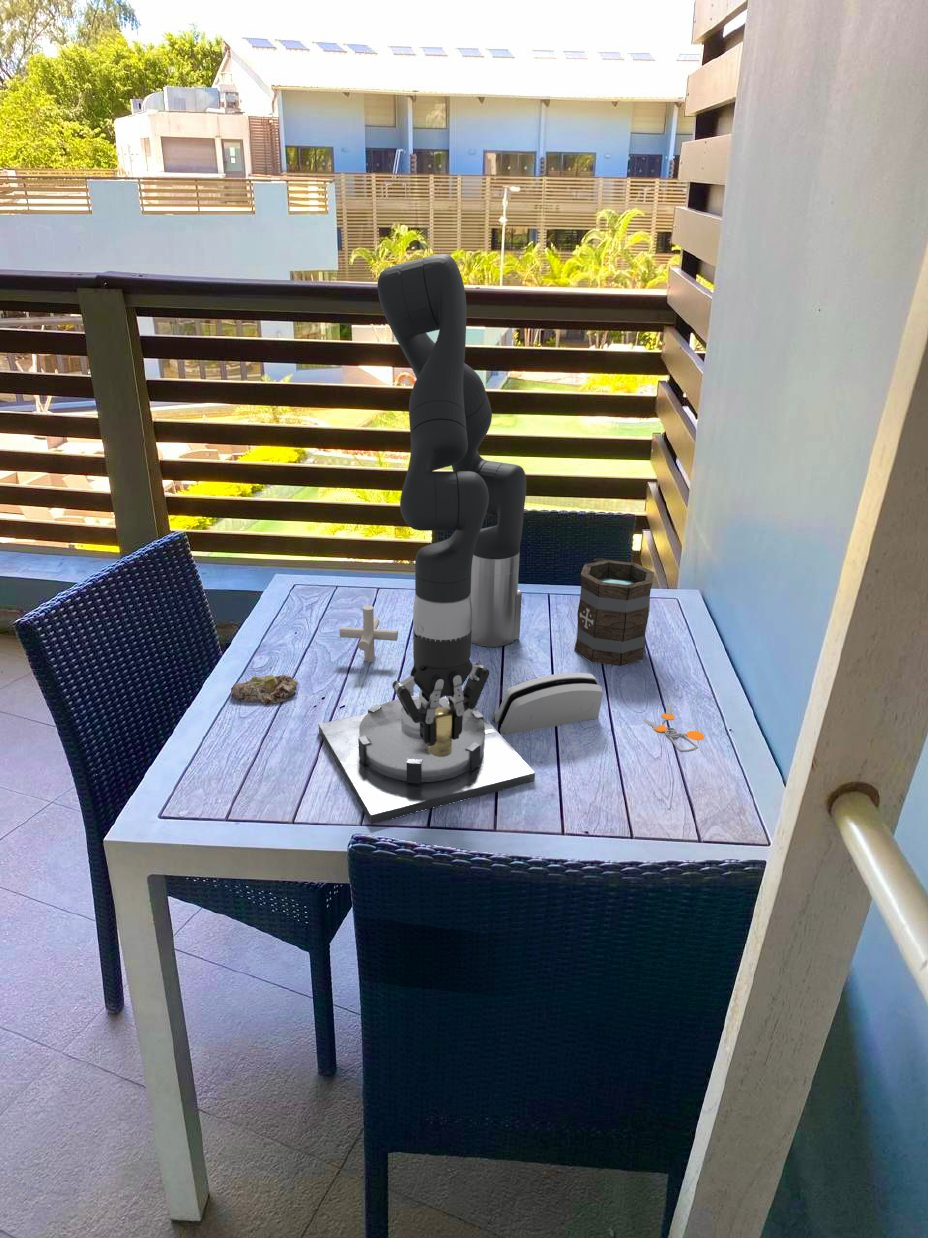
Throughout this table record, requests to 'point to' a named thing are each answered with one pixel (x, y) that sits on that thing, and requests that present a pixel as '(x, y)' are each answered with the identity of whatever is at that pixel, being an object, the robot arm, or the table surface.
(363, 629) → the pipe connector
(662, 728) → the key chain
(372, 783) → the base plate
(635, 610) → the mug
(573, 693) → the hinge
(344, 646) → the table surface
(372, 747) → the silver disc
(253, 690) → the mineral rock
